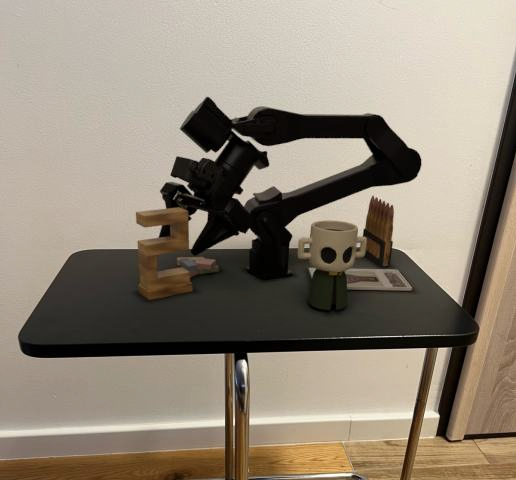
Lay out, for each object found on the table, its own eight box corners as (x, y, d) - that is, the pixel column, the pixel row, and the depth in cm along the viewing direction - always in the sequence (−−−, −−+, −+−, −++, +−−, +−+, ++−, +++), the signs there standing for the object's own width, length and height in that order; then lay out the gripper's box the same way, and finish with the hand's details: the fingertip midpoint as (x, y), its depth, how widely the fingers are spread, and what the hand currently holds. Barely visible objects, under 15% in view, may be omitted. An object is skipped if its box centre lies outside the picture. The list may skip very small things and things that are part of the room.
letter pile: (207, 263, 105) (206, 253, 104) (221, 273, 100) (221, 263, 99) (167, 269, 101) (166, 258, 100) (180, 279, 96) (180, 268, 95)
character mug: (299, 316, 83) (305, 232, 77) (288, 299, 89) (293, 220, 83) (367, 313, 85) (377, 231, 79) (351, 296, 91) (360, 219, 85)
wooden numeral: (181, 284, 94) (178, 206, 88) (192, 291, 91) (191, 211, 85) (138, 292, 90) (132, 211, 84) (148, 300, 87) (143, 216, 81)
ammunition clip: (360, 251, 115) (367, 194, 110) (368, 251, 116) (375, 194, 111) (381, 267, 106) (389, 205, 101) (389, 267, 107) (398, 205, 101)
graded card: (308, 267, 102) (397, 269, 103) (308, 270, 103) (397, 272, 103) (315, 285, 93) (412, 287, 94) (315, 288, 94) (411, 290, 94)
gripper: (167, 131, 91) (113, 206, 89) (239, 143, 78) (178, 229, 76) (205, 176, 99) (156, 245, 97) (276, 193, 87) (222, 272, 85)
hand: (175, 247), depth 89 cm, fingers open, 9 cm apart
